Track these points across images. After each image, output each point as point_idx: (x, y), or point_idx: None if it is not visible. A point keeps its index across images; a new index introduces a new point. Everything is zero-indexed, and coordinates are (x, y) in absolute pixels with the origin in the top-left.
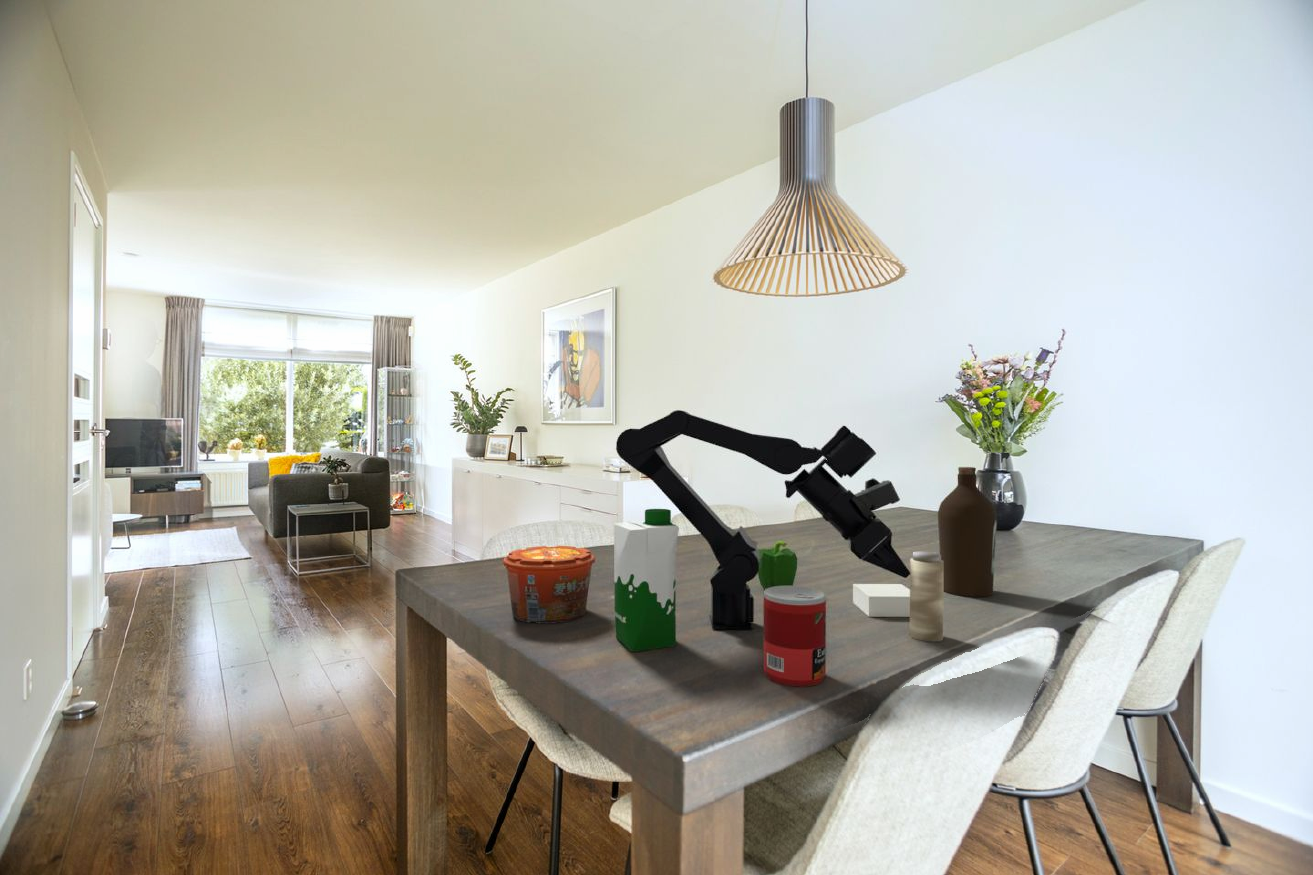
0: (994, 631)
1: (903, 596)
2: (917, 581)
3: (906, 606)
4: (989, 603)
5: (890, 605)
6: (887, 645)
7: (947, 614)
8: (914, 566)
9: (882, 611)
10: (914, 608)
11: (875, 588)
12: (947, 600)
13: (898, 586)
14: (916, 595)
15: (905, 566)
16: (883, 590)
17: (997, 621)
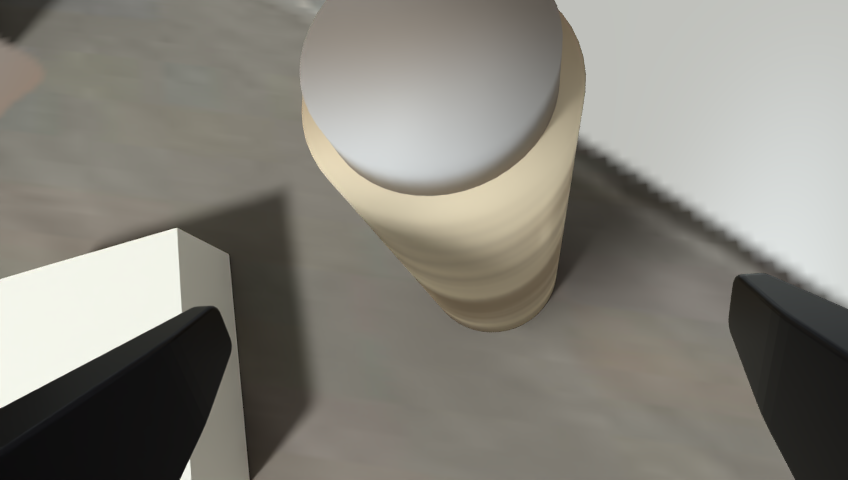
0: None
1: (180, 307)
2: (545, 230)
3: (208, 302)
4: (57, 17)
5: None
6: (675, 454)
7: (189, 156)
8: (522, 210)
9: (231, 415)
10: (529, 291)
11: None
12: (19, 135)
13: (3, 307)
14: (542, 263)
15: (840, 309)
16: None
17: (254, 18)
